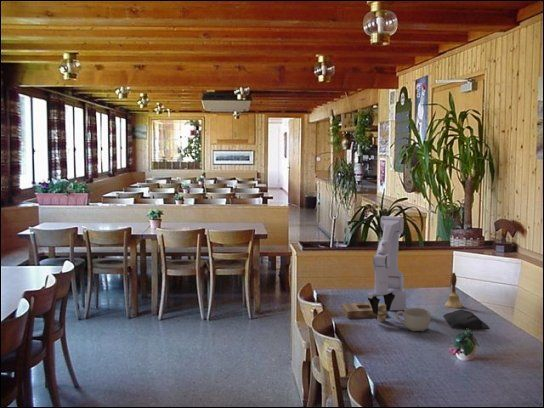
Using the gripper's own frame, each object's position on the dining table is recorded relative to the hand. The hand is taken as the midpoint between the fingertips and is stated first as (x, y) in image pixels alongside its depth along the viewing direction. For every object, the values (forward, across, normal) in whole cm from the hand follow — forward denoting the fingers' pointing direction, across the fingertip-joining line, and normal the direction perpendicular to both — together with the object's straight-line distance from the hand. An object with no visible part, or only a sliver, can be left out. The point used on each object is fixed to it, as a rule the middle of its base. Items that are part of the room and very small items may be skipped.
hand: (381, 311), depth 262 cm
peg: (+4, 0, 0) cm, 4 cm away
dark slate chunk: (+5, -26, +24) cm, 36 cm away
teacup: (+4, -1, +17) cm, 18 cm away
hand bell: (+4, -45, +4) cm, 45 cm away
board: (+4, -3, -14) cm, 15 cm away
